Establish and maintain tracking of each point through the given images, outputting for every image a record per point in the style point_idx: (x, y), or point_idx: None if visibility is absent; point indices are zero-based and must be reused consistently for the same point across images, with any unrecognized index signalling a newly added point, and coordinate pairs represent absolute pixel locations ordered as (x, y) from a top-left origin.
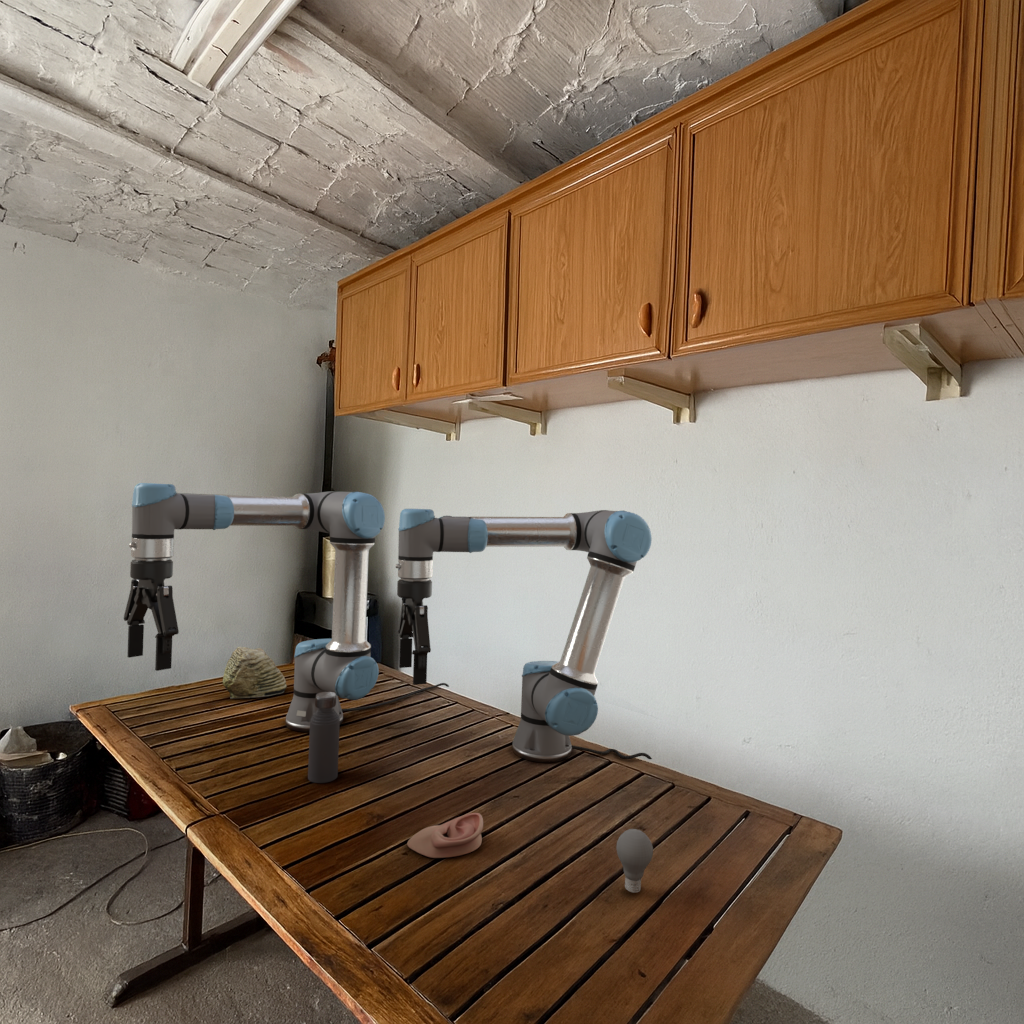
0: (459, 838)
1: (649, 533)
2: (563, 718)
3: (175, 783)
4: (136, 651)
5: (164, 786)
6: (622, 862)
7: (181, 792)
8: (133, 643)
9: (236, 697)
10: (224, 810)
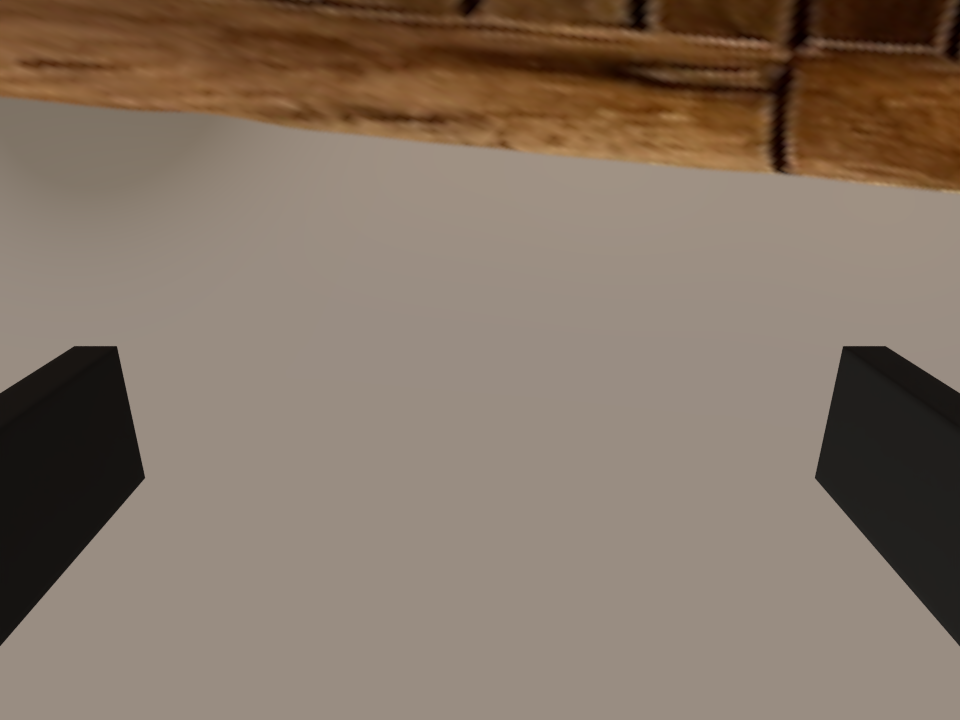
0: None
1: None
2: None
3: (432, 55)
4: (100, 438)
5: (430, 99)
6: None
7: (527, 74)
8: (44, 533)
9: None
10: (787, 26)
